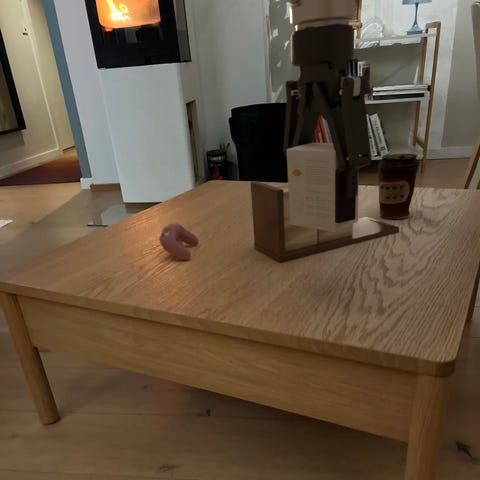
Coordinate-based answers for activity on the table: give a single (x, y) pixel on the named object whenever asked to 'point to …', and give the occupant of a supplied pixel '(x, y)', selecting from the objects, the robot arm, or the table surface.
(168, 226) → the pink curved tube
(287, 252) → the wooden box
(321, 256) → the table surface
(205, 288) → the table surface
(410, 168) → the coffee cup
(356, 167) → the robot arm
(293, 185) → the small box
